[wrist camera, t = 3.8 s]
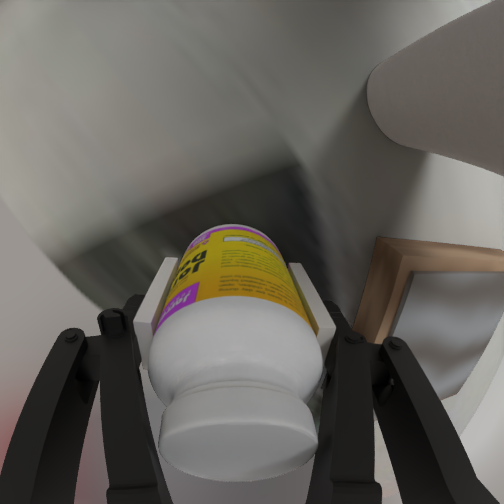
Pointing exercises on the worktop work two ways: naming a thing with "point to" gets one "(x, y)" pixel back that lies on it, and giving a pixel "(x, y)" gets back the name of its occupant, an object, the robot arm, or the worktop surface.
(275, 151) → the worktop surface
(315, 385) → the supplement bottle
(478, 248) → the plinth
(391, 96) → the coffee cup
